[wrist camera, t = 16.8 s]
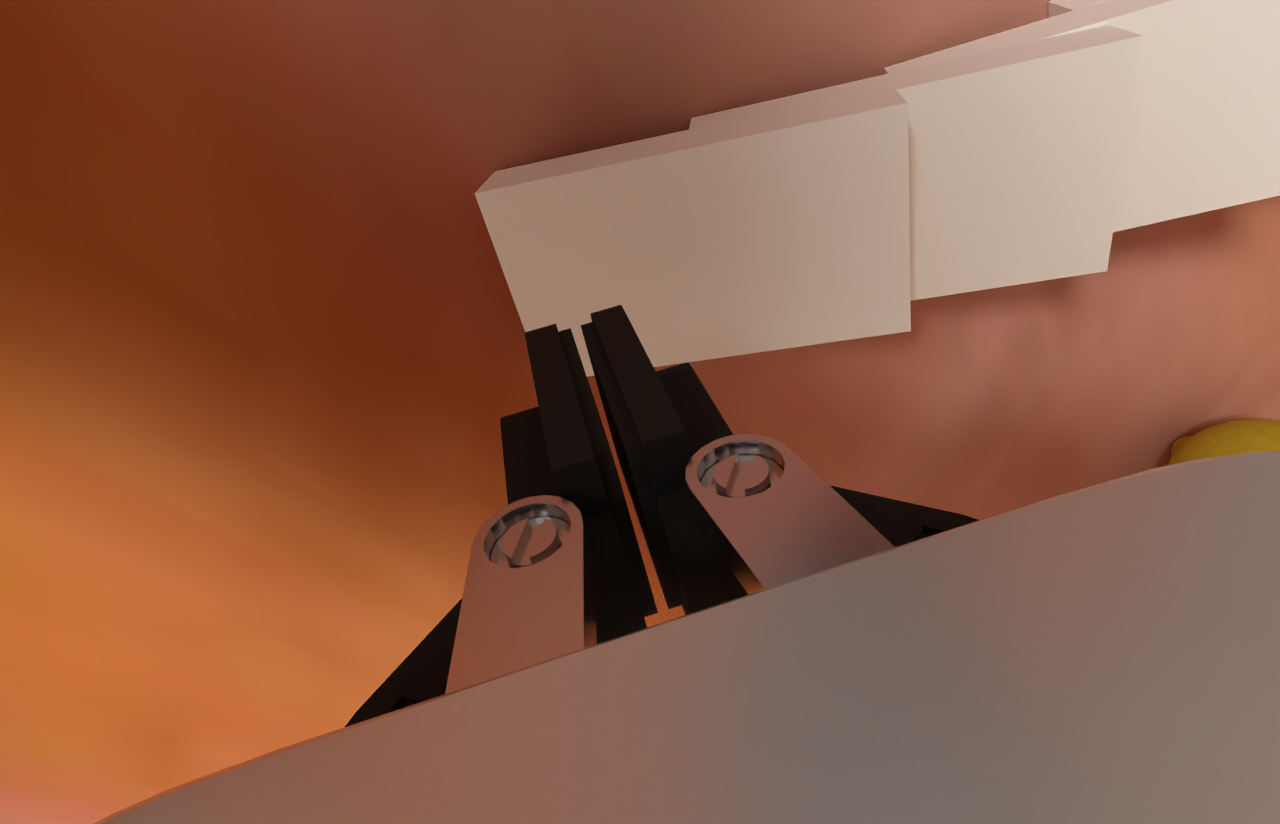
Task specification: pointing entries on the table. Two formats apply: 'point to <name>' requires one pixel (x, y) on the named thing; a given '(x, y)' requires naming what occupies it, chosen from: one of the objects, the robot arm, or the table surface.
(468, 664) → the robot arm
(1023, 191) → the tile
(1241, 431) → the lemon
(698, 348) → the tile
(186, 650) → the table surface
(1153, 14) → the tile
